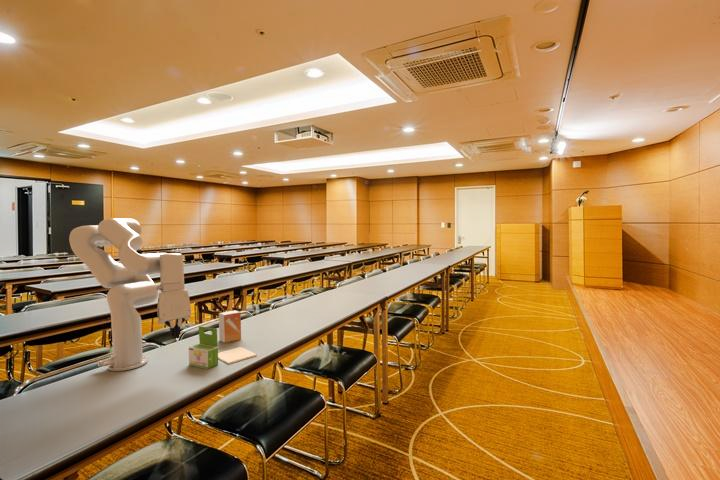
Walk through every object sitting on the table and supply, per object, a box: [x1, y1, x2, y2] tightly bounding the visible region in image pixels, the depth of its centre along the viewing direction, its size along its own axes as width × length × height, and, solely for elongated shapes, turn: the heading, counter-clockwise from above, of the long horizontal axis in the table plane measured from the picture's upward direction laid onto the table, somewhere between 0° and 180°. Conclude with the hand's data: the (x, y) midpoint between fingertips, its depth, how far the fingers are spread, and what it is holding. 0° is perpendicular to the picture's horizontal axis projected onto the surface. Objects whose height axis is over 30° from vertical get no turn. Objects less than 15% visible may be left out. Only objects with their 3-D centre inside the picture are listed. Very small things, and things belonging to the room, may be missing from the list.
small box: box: [218, 309, 242, 344], centre depth 165 cm, size 8×6×13 cm
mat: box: [218, 346, 258, 365], centre depth 143 cm, size 12×14×1 cm
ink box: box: [188, 325, 219, 370], centre depth 134 cm, size 10×5×14 cm, turn 65°
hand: (175, 337), depth 127 cm, fingers closed
